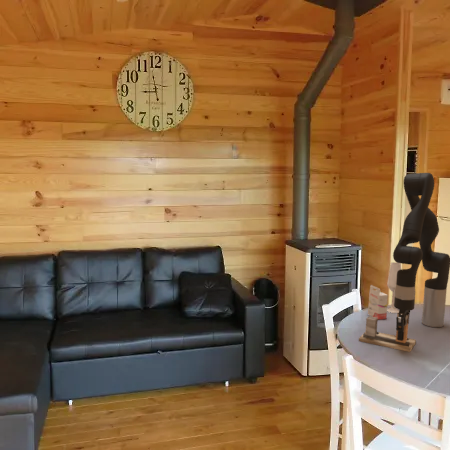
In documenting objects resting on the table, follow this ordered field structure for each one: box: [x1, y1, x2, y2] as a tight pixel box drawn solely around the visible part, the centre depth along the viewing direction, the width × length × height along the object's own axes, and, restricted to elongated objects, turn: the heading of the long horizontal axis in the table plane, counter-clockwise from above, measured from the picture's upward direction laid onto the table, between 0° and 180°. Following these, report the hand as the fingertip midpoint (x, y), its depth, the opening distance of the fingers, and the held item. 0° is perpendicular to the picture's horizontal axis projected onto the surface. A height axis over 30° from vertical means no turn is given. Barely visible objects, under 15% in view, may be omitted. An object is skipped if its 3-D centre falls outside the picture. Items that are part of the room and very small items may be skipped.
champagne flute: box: [386, 262, 402, 314], centre depth 239 cm, size 7×7×24 cm
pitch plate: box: [358, 315, 417, 353], centre depth 198 cm, size 12×20×10 cm, turn 58°
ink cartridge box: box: [367, 284, 389, 320], centre depth 230 cm, size 9×5×15 cm, turn 17°
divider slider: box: [395, 323, 409, 343], centre depth 194 cm, size 9×4×8 cm, turn 149°
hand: (401, 337), depth 192 cm, fingers open, 4 cm apart
